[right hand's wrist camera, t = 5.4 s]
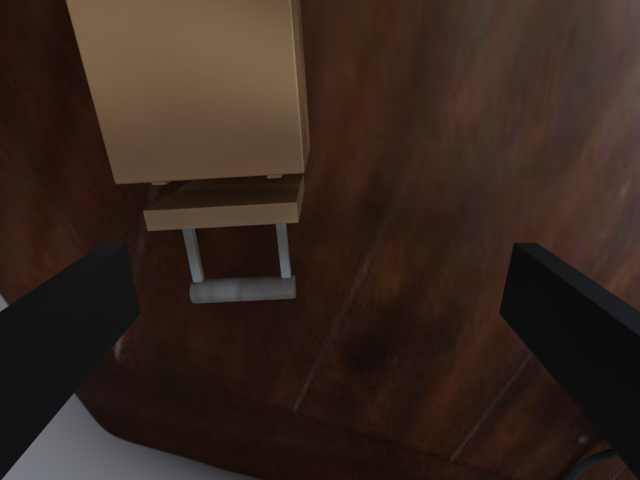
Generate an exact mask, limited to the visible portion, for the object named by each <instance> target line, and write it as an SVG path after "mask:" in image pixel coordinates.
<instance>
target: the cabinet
mask: <svg viewBox="0 0 640 480" xmlns="http://www.w3.org/2000/svg"><path fill="white" fill-rule="evenodd" d="M66 3H67V6H68V10H69V14H70V17H71V21H72V25H73V29H74V32H75V36H76V40H77V43H78V47H79V51H80V54H81V58H82V62H83V66H84V69H85V73H86V77H87V80H88V84H89V88H90V92H91V95H92V99H93V103H94V106H95V110H96V114H97V117H98V121H99V125H100V129H101V132H102V136H103V140H104V143H105V147H106V151H107V155H108V158H109V162H110V166H111V169H112V173H113V177H114V181H115V183H116V184H131V183H148V182H165V181H182V180H198V179H215V178H232V177H249V176H266V175H282V174H299V173H304V171H305V167H306V163H307V159H308V155H309V151H310V138H309V123H308V109H307V94H306V80H305V65H304V50H303V36H302V21H301V7H300V0H66Z"/></svg>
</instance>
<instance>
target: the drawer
mask: <svg viewBox="0 0 640 480" xmlns="http://www.w3.org/2000/svg"><path fill="white" fill-rule="evenodd" d="M170 182H171V181H165V182H151V183H152V185H166V184H168V183H170ZM304 190H305V187H304V175H303V174H295V175H283V174H282V175H267V176H262V177H245V178H228V179H211V180H194V181H190V182H189V183H187V184H186V185H184V186H182V187H181V188H179V189H178V190H176V191H174V192H173V193H171V194H170V195H168V196H166V197H165V198H163V199H162V200H160V201H158V202H157V203H155V204H154V205H152V206H150V207H149V208H147V209H146V210H144V211H143V213H144V217H145V221H146V225H147V229H148V231H157V230H175V229H182V231H183V236H184V240H185V245H186V250H187V255H188V259H189V264H190V269H191V273H192V278H193V281H192V282H191V285H190V298H191V301H192V302H193V303H215V302H235V301H255V300H274V299H294V298H295V297H296V280H295V276H294V275H291V267H290V257H289V247H288V237H287V227H286V223H298V221H299V216H300V211H301V206H302V200H303V195H304ZM264 224H276V232H277V241H278V250H279V259H280V268H281V275H277V276H258V277H239V278H219V279H204V274H203V269H202V264H201V259H200V254H199V249H198V244H197V239H196V234H195V229H194V228H210V227H228V226H246V225H264Z"/></svg>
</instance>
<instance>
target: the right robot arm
mask: <svg viewBox="0 0 640 480" xmlns="http://www.w3.org/2000/svg"><path fill="white" fill-rule="evenodd" d="M140 313H141V312H140V307H139V302H138V297H137V293H136V288H135V283H134V279H133V274H132V269H131V265H130V260H129V255H128V251H127V246H126V243H103V244H101V245H100V246H98V247H97V248H95V249H94V250H92V251H91V252H89V253H88V254H86V255H85V256H83V257H82V258H80V259H79V260H77V261H76V262H74V263H73V264H71V265H70V266H68V267H67V268H65V269H64V270H62V271H61V272H59V273H58V274H56V275H55V276H53V277H52V278H50V279H49V280H47V281H46V282H44V283H43V284H41V285H40V286H38V287H37V288H35V289H34V290H32V291H31V292H29V293H28V294H26V295H25V296H23V297H22V298H20V299H19V300H17V301H16V302H14V303H13V304H11V305H10V306H8V307H7V308H5V309H4V310H2V311H1V312H0V480H2V478H3V477H4V476H5V475H6V474H7V472H8V471H9V470H10V469H11V468H12V466H13V465H14V464H15V463H16V462H17V460H18V459H19V458H20V457H21V456H22V454H23V453H24V452H25V451H26V450H27V448H28V447H29V446H30V445H31V444H32V442H33V441H34V440H35V439H36V438H37V437H38V435H39V434H40V433H41V432H42V431H43V429H44V428H45V427H46V426H47V424H48V423H49V422H50V421H51V420H52V418H53V417H54V416H55V415H56V414H57V413H58V411H59V410H60V409H61V408H62V407H63V405H64V404H65V403H66V402H67V401H68V399H69V398H70V397H71V396H72V395H73V393H74V392H75V391H76V390H77V389H78V387H79V386H80V385H81V384H82V383H83V381H84V380H85V379H86V378H87V377H88V375H89V374H90V373H91V372H92V371H93V369H94V368H95V367H96V366H97V365H98V363H99V362H100V361H101V360H102V359H103V357H104V356H105V355H106V354H107V353H108V352H109V350H110V349H111V348H112V347H113V346H114V344H115V343H116V342H117V341H118V340H119V338H120V337H121V336H122V335H123V334H124V332H125V331H126V330H127V329H128V328H129V326H130V325H131V324H132V323H133V322H134V320H135V319H136V318H137V317H138V316H139V314H140ZM499 313H500V314H501V316H502V317H503V318H504V319H505V320H506V322H507V323H508V324H509V325H510V326H511V328H512V329H513V330H514V331H515V332H516V334H517V335H518V336H519V337H520V338H521V340H522V341H523V342H524V343H525V344H526V346H527V347H528V348H529V349H530V350H531V352H532V353H533V354H534V355H535V356H536V357H537V359H538V360H539V361H540V362H541V363H542V365H543V366H544V367H545V368H546V369H547V371H548V372H549V373H550V374H551V375H552V377H553V378H554V379H555V380H556V381H557V383H558V384H559V385H560V386H561V387H562V389H563V390H564V391H565V392H566V393H567V395H568V396H569V397H570V398H571V399H572V401H573V402H574V403H575V404H576V405H577V407H578V408H579V409H580V410H581V411H582V413H583V414H584V415H585V416H586V417H587V419H588V420H589V421H590V422H591V423H592V425H593V426H594V427H595V428H596V429H597V431H598V432H599V433H600V434H601V435H602V437H603V438H604V439H605V440H606V441H607V443H608V444H609V445H610V446H611V447H612V449H609V450H606V451H603V452H600V453H597V454H594V455H592V456H590V457H588V458H586V459H584V460H583V461H581V462H580V463H579V464H577V465H576V466H575V467H574V468H573V469H572V470H571V471H570V472H569V473H568V474H567V476H566V477H565V478H564V479H563V480H575V479H576V478H577V477H578V476H579V475H580V474H581V473H582V472H584V471H585V470H586V469H588V468H589V467H591V466H593V465H595V464H597V463H599V462H602V461H606V460H609V459H612V458H615V457H617V456H619V457H620V458H621V459H622V460H623V462H624V463H625V464H626V465H627V466H628V468H629V469H630V470H631V471H632V472H633V474H634V475H635V476H636V477H637V478H638V480H640V312H639V311H638V310H636V309H635V308H633V307H632V306H630V305H629V304H627V303H626V302H624V301H623V300H621V299H620V298H618V297H617V296H615V295H614V294H612V293H611V292H609V291H608V290H606V289H605V288H603V287H602V286H600V285H599V284H597V283H596V282H594V281H593V280H591V279H590V278H588V277H587V276H585V275H584V274H582V273H581V272H579V271H578V270H576V269H575V268H573V267H572V266H570V265H569V264H567V263H566V262H564V261H563V260H561V259H560V258H558V257H557V256H555V255H554V254H552V253H551V252H549V251H548V250H546V249H545V248H543V247H542V246H540V245H539V244H537V243H514V246H513V251H512V255H511V260H510V265H509V269H508V274H507V279H506V283H505V288H504V293H503V297H502V302H501V307H500V312H499Z"/></svg>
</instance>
